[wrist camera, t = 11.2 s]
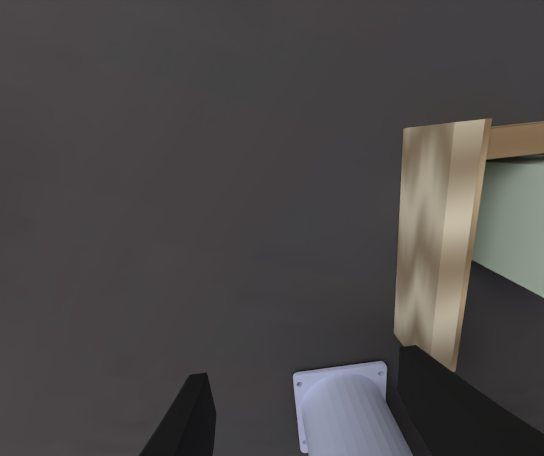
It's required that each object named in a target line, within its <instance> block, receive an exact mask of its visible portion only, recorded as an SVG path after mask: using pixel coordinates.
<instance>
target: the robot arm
mask: <svg viewBox="0 0 544 456" xmlns="http://www.w3.org/2000/svg"><path fill="white" fill-rule="evenodd" d="M380 371H381V372H380ZM386 380H387V366H386V364H385V363H384V362H383V361H377V362H369V363H362V364H354V365H347V366H339V367H332V368H324V369H317V370H309V371H302V372H296V373H295V374H294V375H293V384H294V393H295V403H296V413H297V422H298V432H299V441H300V450H301V451H302V452H303V453H309V456H413V455H412V453H411V451H410V449H409V447H408V445H407V443H406V441H405V439H404V437H403V435H402V433H401V431H400V429H399V427H398V425H397V423H396V421H395V419H394V417H393V415H392V413H391V411H390V409H389V407H388V405H387V403H386ZM299 382H301V383H299ZM397 389H398V391H399V393H400V395H401V398H402V400H403V402H404V404H405V406H406V409H407V411H408V413H409V415H410V417H411V419H412V421H413V423H414V424H415V426H416V428H417V430H418V431H419V433H420V435H421V436H422V438H423V440H424V442H425V443H426V445H427V447H428V448H429V450H430V452H431V453H432V455H433V456H544V434H543V433H541V432H540V431H538V430H536V429H535V428H533V427H532V426H530V425H528V424H527V423H525V422H524V421H522V420H521V419H519V418H518V417H516V416H515V415H513V414H512V413H510V412H509V411H507V410H506V409H504V408H503V407H501V406H500V405H498V404H497V403H495V402H494V401H492V400H491V399H489V398H488V397H487V396H485V395H484V394H482V393H481V392H479V391H478V390H477V389H475V388H474V387H472V386H471V385H470V384H468V383H467V382H465V381H464V380H463V379H461V378H460V377H459V376H457V375H456V374H455V373H453V372H452V371H450V370H449V369H448V368H446V367H445V366H444V365H442V364H441V363H440V362H438V361H437V360H436V359H434V358H433V357H432V356H430V355H429V354H428V353H426V352H425V351H424V350H422V349H421V348H420V347H418V346H417V345H411V346H404V347H400V354H399V371H398V388H397ZM215 425H216V410H215V406H214V401H213V397H212V393H211V389H210V384H209V380H208V376H207V373H201V374H193V375H190V376H189V377H188V378H187V380H186V382H185V383H184V385H183V387H182V388H181V390H180V392H179V394H178V395H177V397H176V399H175V400H174V402H173V404H172V405H171V407H170V408H169V410H168V412H167V413H166V415H165V417H164V418H163V420H162V421H161V423H160V424H159V426H158V427H157V429H156V431H155V432H154V434H153V435H152V437H151V438H150V440H149V441H148V443H147V444H146V446H145V447H144V449H143V450H142V452H141V453H140V455H139V456H212V454H213V448H214V437H215Z"/></svg>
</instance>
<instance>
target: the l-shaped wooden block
mask: <svg viewBox="0 0 544 456" xmlns="http://www.w3.org/2000/svg"><path fill="white" fill-rule="evenodd" d="M491 122H492V118H490V119H481V120H472V121H463V122H454V123H446V124H437V125H428V126H420V127H411V128H404V130H403V151H402V171H401V192H400V213H399V234H398V255H397V276H396V297H395V318H394V334H395V335H396V337H397V338H398V339H399V341H400V342H401V344H402V345H403V346H411V345H417V346H418V347H420V348H421V349H422V350H424V351H425V352H426V353H428V354H429V355H430V356H432V357H433V358H434V359H436V360H437V361H438V362H440V363H441V364H442V365H444V366H445V367H446V368H448V369H449V370H450V371H452V372H455V371H456V364H457V357H458V350H459V343H460V336H461V329H462V322H463V315H464V309H465V302H466V295H467V288H468V281H469V274H470V267H471V260H472V253H473V246H474V239H475V232H476V226H477V219H478V212H479V205H480V198H481V191H482V184H483V177H484V170H485V163H486V160H487V159H496V158H504V157H513V156H522V155H530V154H539V153H544V121H542V122H530V123H520V124H512V125H503V126H494V127H491Z"/></svg>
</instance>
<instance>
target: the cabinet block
mask: <svg viewBox="0 0 544 456" xmlns="http://www.w3.org/2000/svg"><path fill="white" fill-rule="evenodd" d="M472 260H473V261H475V262H477V263H479V264H481V265H483V266H484V267H486V268H488V269H490V270H492V271H494V272H496V273H498V274H500V275H502V276H503V277H505V278H507V279H509V280H511V281H513V282H515V283H517V284H519V285H521V286H522V287H524V288H526V289H528V290H530V291H532V292H534V293H536V294H538V295H539V296H541V297H543V298H544V155H536V154H531V155H522V156H514V157H505V158H496V159H487V160H486V163H485V170H484V177H483V184H482V191H481V198H480V205H479V212H478V219H477V226H476V232H475V239H474V246H473V253H472Z"/></svg>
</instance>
